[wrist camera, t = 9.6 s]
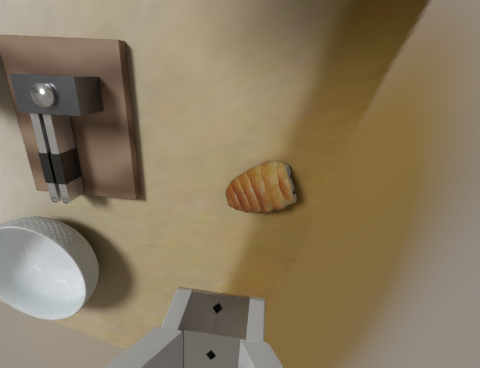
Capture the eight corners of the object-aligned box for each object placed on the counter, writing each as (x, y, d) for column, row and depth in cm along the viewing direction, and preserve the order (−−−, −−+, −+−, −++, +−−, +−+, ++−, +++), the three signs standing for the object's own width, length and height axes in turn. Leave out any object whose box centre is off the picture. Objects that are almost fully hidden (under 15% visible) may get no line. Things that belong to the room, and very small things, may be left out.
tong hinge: (42, 73, 33) (4, 73, 28) (99, 76, 32) (69, 77, 27) (49, 107, 34) (14, 112, 29) (104, 111, 34) (76, 117, 29)
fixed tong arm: (49, 110, 34) (28, 113, 31) (58, 110, 34) (38, 114, 31) (67, 192, 38) (50, 202, 35) (75, 193, 38) (59, 203, 35)
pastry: (236, 215, 39) (233, 228, 36) (219, 173, 37) (214, 184, 34) (299, 197, 37) (302, 210, 34) (285, 153, 35) (287, 161, 32)
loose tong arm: (60, 110, 34) (40, 114, 31) (69, 111, 34) (50, 114, 31) (77, 193, 38) (61, 203, 35) (85, 194, 38) (70, 204, 35)
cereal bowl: (24, 185, 41) (-23, 206, 34) (125, 232, 42) (99, 261, 36) (11, 262, 47) (-31, 292, 41) (99, 301, 49) (72, 336, 42)
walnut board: (6, 36, 33) (-5, 34, 31) (124, 41, 32) (118, 39, 30) (44, 186, 40) (36, 190, 39) (140, 194, 39) (135, 199, 38)
